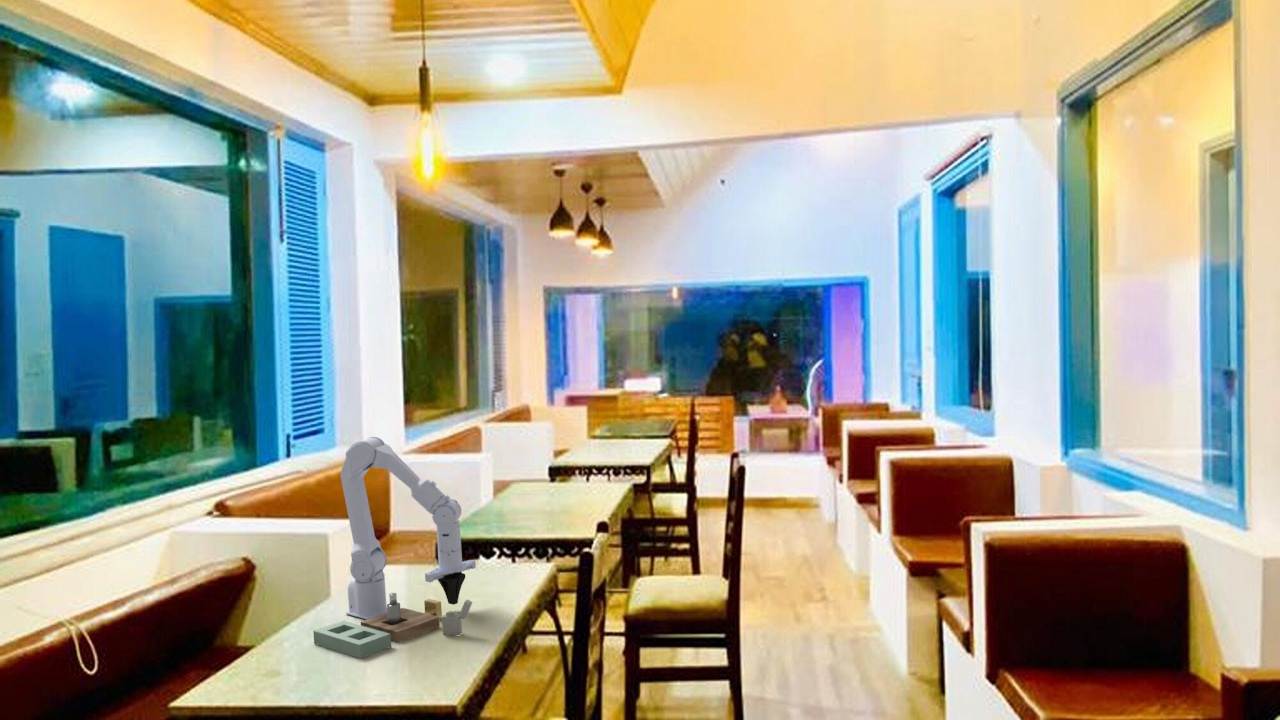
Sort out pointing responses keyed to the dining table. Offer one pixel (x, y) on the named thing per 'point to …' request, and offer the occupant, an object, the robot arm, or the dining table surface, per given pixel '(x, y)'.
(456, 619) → the lighter
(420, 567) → the dining table surface
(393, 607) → the grey stepped cylinder
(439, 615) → the light wooden block
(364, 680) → the dining table surface
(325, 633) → the drill rack
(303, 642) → the dining table surface
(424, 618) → the socket block
